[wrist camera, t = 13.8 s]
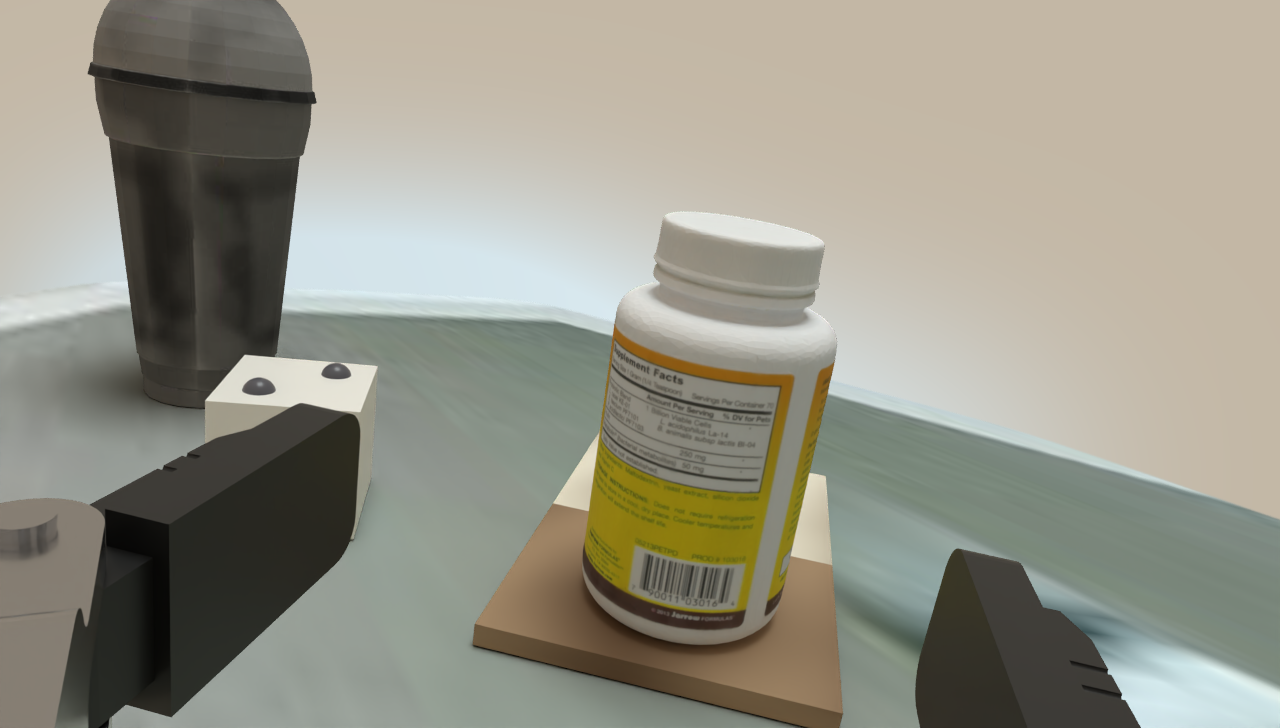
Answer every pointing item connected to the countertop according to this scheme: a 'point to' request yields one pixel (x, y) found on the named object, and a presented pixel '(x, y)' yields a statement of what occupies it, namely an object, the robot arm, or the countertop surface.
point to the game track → (717, 673)
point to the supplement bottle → (708, 430)
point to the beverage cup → (203, 177)
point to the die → (295, 400)
